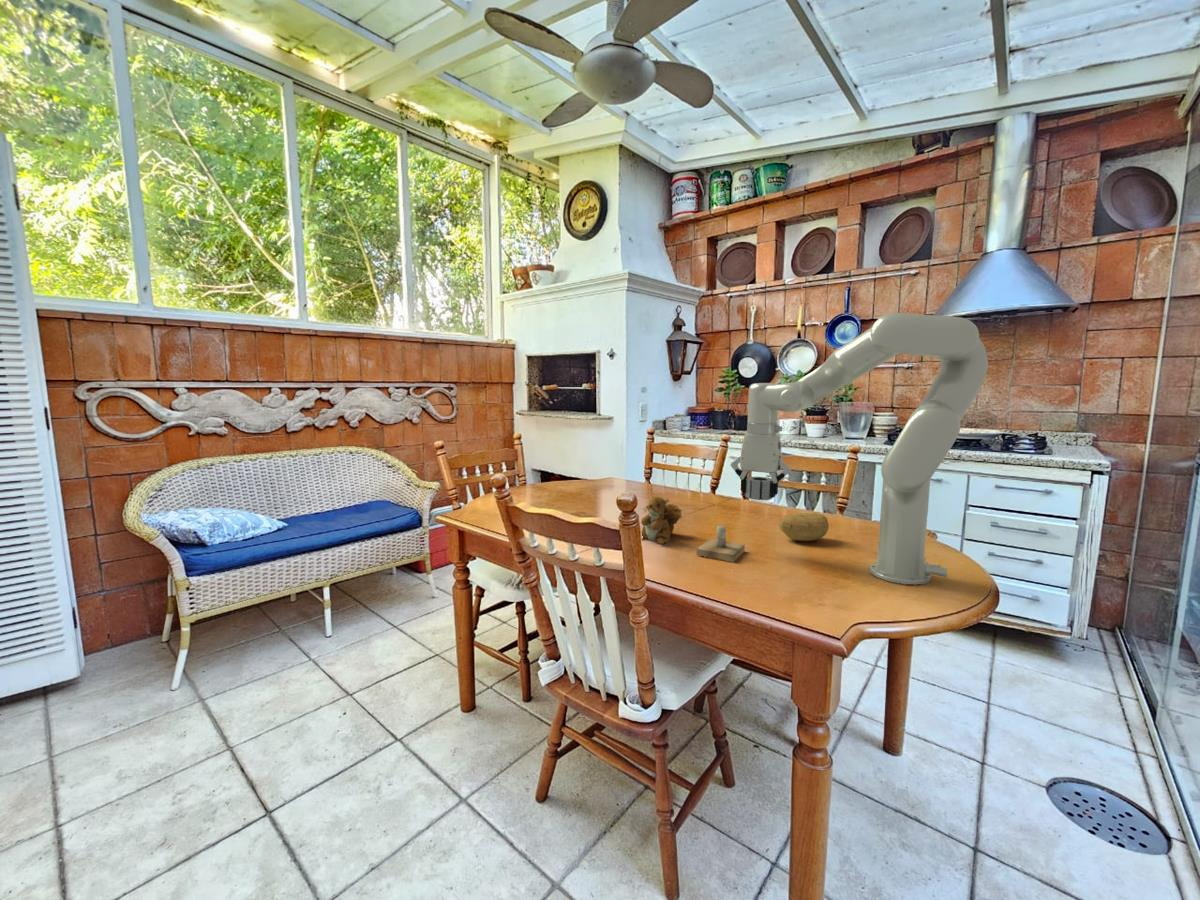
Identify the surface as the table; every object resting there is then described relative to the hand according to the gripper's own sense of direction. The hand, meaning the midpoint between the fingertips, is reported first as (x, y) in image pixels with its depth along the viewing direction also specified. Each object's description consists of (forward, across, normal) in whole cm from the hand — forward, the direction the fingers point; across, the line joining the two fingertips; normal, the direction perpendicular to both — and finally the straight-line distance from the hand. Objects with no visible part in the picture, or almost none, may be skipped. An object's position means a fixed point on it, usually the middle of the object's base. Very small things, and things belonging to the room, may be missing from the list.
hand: (758, 494), depth 139 cm
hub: (+1, 0, 0) cm, 1 cm away
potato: (+16, -9, -17) cm, 25 cm away
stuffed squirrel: (+17, +29, +2) cm, 33 cm away
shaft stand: (+16, +8, +7) cm, 19 cm away
